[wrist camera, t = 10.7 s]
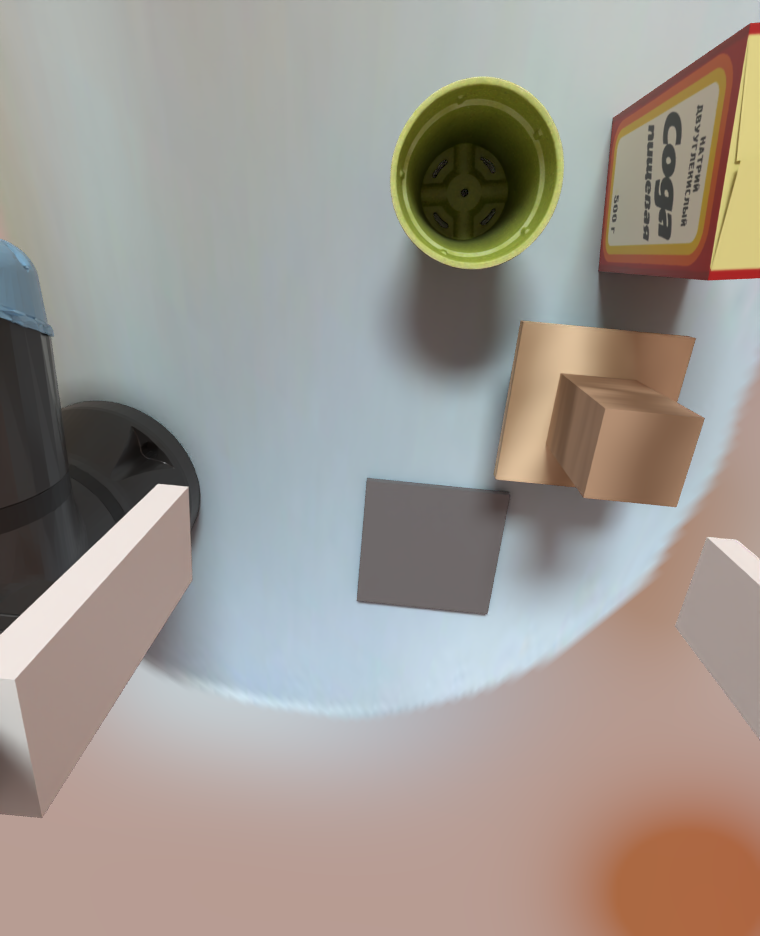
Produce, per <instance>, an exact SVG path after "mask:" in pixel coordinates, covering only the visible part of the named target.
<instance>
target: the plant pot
mask: <svg viewBox="0 0 760 936" xmlns="http://www.w3.org/2000/svg"><path fill="white" fill-rule="evenodd" d="M480 158H486V159H488V160H489V161H490V162H492V164H493V165H494V167H495V170H496V172H495V173H491V171H490V169H489V168H488V167H487V166H486V165H485V164H484V163H483V161H481V160H480ZM443 160H447V161H448V163H447V164H446V165H445V166H444V167H443V168H442V169H441V170H440V172H439V173H438V174H437V176H436V178H433V172H434V171H435V170H436V169H437V167H438V165H439V163H440V162H442V161H443ZM563 171H564V158H563V149H562V143H561V140H560V136H559V133H558V130H557V128H556V126H555V124H554V122H553V120H552V118H551V116H550V115H549V113H548V111H547V110H546V108H545V107H544V106H543V105H542V104H541V102H540V101H539V100H538V99H536V98H535V97H534V96H533V95H532V94H531V93H530V92H528V91H527V90H525V89H524V88H522V87H521V86H518V85H516V84H514V83H512V82H509V81H506V80H503V79H500V78H494V77H472V78H466V79H462V80H459V81H456V82H454V83H451V84H449V85H447V86H445V87H443V88H441V89H439V90H438V91H436V92H435V93H433V94H432V95H431V96H429V97H428V98H427V99H426V100H425V101H424V102H423V103H422V104H421V105H420V106H419V107H418V108H417V109H416V110H415V112H414V113H413V114H412V115H411V117H410V118H409V120H408V121H407V123H406V124H405V126H404V128H403V130H402V132H401V134H400V136H399V139H398V141H397V144H396V147H395V150H394V153H393V158H392V164H391V175H390V187H391V197H392V202H393V206H394V210H395V212H396V216H397V218H398V220H399V222H400V224H401V226H402V228H403V230H404V231H405V233H406V234H407V236H408V237H409V238H410V240H411V241H412V242H413V243H414V244H415V245H416V246H417V247H418V248H419V249H420V250H421V251H422V252H424V253H425V254H426V255H428V256H429V257H431V258H433V259H434V260H436V261H438V262H440V263H443V264H445V265H448V266H451V267H455V268H461V269H484V268H489V267H493V266H497V265H500V264H502V263H504V262H507V261H509V260H511V259H512V258H514V257H516V256H517V255H519V254H520V253H521V252H523V251H524V250H525V249H526V248H528V247H529V246H530V245H531V244H532V243H533V242H534V241H535V240H536V239H537V237H538V236H539V235H540V234H541V233H542V231H543V230H544V229H545V227H546V226H547V224H548V222H549V221H550V219H551V217H552V215H553V213H554V210H555V208H556V205H557V203H558V200H559V196H560V193H561V188H562V182H563ZM463 189H467V190H468V195H467V196H465V197H463V196H461V191H462V190H463ZM493 208H495V214H494V215H493V217H492V218H491V219H490V220H489V222H488V223H486V225H481V224H480V223H481V222H482V221H483V220H484V219H485V218H486V217H487V216H488V214H489V213H490V212H491V210H492V209H493ZM435 212H436V213H437V214H438V215H439V216H440V218H441V219H442V220H443V221H444V222H445V223H447V224H448V228H443V227H441V226H440V224H439V223H438V222H437V221H436V220H435V218H434V213H435Z"/></svg>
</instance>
